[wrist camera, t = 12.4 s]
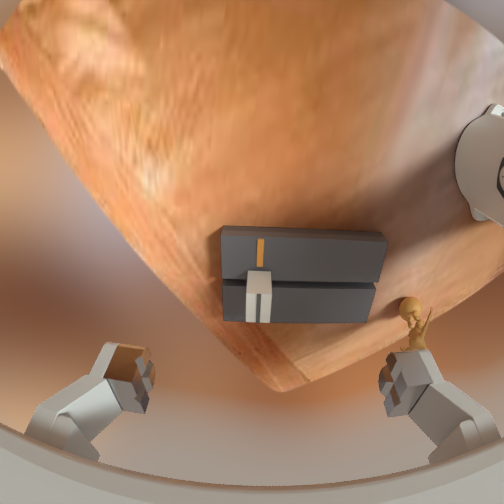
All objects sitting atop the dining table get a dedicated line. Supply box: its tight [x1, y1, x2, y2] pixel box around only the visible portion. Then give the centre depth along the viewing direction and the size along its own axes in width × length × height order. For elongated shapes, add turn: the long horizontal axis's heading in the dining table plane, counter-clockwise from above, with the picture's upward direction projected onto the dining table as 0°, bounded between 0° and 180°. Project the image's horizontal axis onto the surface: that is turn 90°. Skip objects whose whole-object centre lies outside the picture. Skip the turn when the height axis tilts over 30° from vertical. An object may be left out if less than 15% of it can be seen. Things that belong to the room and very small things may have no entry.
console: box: [221, 226, 388, 323], centre depth 43 cm, size 22×14×3 cm, turn 88°
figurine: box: [399, 297, 432, 351], centre depth 42 cm, size 8×6×12 cm
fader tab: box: [246, 271, 272, 323], centre depth 40 cm, size 3×4×7 cm, turn 178°
